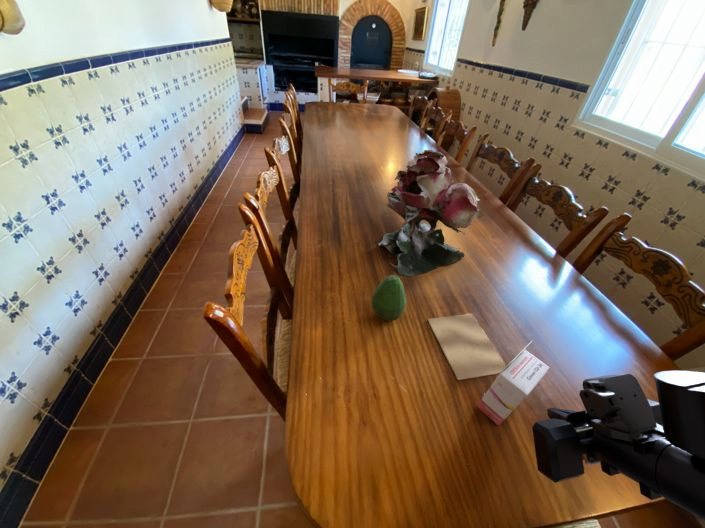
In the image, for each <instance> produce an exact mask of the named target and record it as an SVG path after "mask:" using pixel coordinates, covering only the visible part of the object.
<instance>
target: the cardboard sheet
mask: <svg viewBox="0 0 705 528" xmlns="http://www.w3.org/2000/svg"><path fill="white" fill-rule="evenodd" d="M426 319H427V323H428V325H429V327H430V329H431V331H432V333H433V336H434V337H435V339H436V340H437V344H439V347H440V349H441V351H442V353H443V354H444V357H445V359H446V361H447V363H448V365H449V367H450V369H451V371H452V373H453V375H454V377H455V379H456V381H457V382H462V381H466V380H473V379H478V378H483V377H490V376H496V375H499V374H500V373H501V371H502V370H503V369H504V368H505V367H506V366H507V364H506V363H505V361H504V360H503V358H502V356H501V355H500V354H499V352H498V350H497V349H496V347H495V346H494V345H493V343H492V341H491V340H490V339H489V337H488V335H487V334H486V331H484V329H483V328H482V326H481V324H480V323H479V322H478V320H477V319H476V318H475V316H474V314H473V313H465V314H456V315H455V314H454V315H448V316H441V317H431V318H426Z"/></svg>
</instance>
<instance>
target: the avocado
mask: <svg viewBox="0 0 705 528" xmlns="http://www.w3.org/2000/svg"><path fill="white" fill-rule="evenodd" d="M406 303H407V296H406V291H405V288H404V284H403V281H402V280H401V279H400V277H399V276H397V275H396V274H389V275H387V276H385V278H384V279H383V280H382V281H381V282H380V283H379V284H378V286H377V287H376V288H375V289H374V291H373V294H372V298H371V307H372V310H373V312H374V313H375V314H376V315H377V317H379V318H380V319H381V320H383V321H385V322H386V321H387V322H392V321H396V320H398V319H399V318H400V317H401V316H402V315H403V313H404V312H405V310H406V305H407V304H406Z"/></svg>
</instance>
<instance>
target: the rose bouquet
mask: <svg viewBox="0 0 705 528" xmlns="http://www.w3.org/2000/svg"><path fill="white" fill-rule="evenodd" d="M414 154H415V155H414V156H413V159H411V160H409V161H408V162H407V165H406V170H404V169H403V170H402V169H400V170H398V171H397V172H396V175H395V178H394V181H396V180H397V182H396V184H397V185H394V186H393V187H392V188H391V190H390V192H389V191H388V193H387V194H386V197H387V204H385V206H386V207H387V208H389V209H391V210H392V211H394V212H395V213H396V214H397V215H398V216H400V218H402V219H403V220H404V222H403V224H402V225H401V227H399V228H398V229H397V230H395V231H392V232H390V233H384V234H383V237H382V240H381V241H380V242H379V243H377V245H378V246H379V247H385V248H386V250H387V251H388V252H389V253H390V254H392V256H393V257H394V258H395V259H397V265H395V264H394V263H391V262H389V264H390V265H391V266H392V267H393V268H394V269H395V271H397V273H398V274H399V276H406V277H412V276H413V277H414V276H418V275H422V274H427V273H429V272H432V271H433V270H436V269H438V267H441V266H447V265H450V264H454V263H456V262H457V261H458V260H460V259H462V258H465V253H464V252H463V251H460V250H461V248H459V249H458V248H457V247H454V246H452V245H450V244H447V243H445V236H444V234H443V230H442V228H437V226H438V225H437V224H438V222H440V223H442V224H443V225H444V226H445V227H447V228H448V229H451V230H453V231H455V232H456V233H458V234H459V233H462V235H465V232H463V231H461V230H459V229H467V228H468V227H469V226H471V225H472V223H473V219H475V220H477V219H481V218H483V217H484V213H483V212H482V210H480V209H478V202H479V201H481V199H479V197H478V196H477V193H476V192H475V189H473V188H472V187H471V185H468V184H467V183H463V182H458V183H456V182H455V179H454V178H453V177H451V176H452V170H451V168H449V167H447V165H448V160H447V157H446V156H445V154H443V153H442V152H441V151H436V150H433V149H423V151H421V152H415V153H414ZM454 182H455V183H454ZM423 221H426V222H423ZM436 228H437V229H436ZM400 251H401V253H398V255H397V253H396V252H400Z"/></svg>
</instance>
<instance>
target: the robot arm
mask: <svg viewBox="0 0 705 528" xmlns="http://www.w3.org/2000/svg"><path fill="white" fill-rule="evenodd" d="M653 377H654V383H655V388H656V394H657V400H658V401H655V400H652V399H648V398H647V397H646V394H645V392H644V391H643V388H642V387H641V384H640V383H639V381H638V379H637V378H636V376H635V375H633V374H631V373H619V374H611V375H610V374H609V375H602V376H596V377H592V378H586V379H584V380H582V384H581V385H582V389H581V390H580V391H579V392H578V396H579V398H580V400H581V402H582V405H583V407H584V410H570V409H563V408H556V407H550V408H547V409H546V413H547V417H548V419H543V420H539V421H535V422H534V423H533V425H532V428H531V429H532V435H533V443H534V451H535V459H536V466H537V471H539V473H541V474H542V475H544V476H545V477H547V478H548V479H549V480H550V481H552V482H553V483H554V484H557V483H560V482H564V481H568V480H572V479H575V478H580V477H581V476H583V475H585V467H584V464H585V465H587V466H593V465H597V464H600V468H601V472H602V473H605V474H606V475H608V476H610V477H612V476H616V475H623V476H625V477H627V478H629V479H630V480H632V481H633V482H636V483H637V484H638V486H639V492H640V495H642V496H644V497H645V498H647V499H649V500H650V501H654V500H658V499H661V498H664V499H665V500H667V501H669V502H671V503H673V504H675V505H676V506H678V507H680V508H681V509H683V510H685V511H687V512H689V513H691V514H693V515H694V516H696V517H698V518H699V519H701V520H703V521H705V372H701V371H692V370H691V371H690V370H662V371H658V372H655V373H654V374H653Z"/></svg>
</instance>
